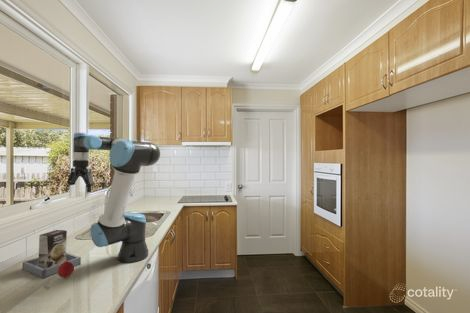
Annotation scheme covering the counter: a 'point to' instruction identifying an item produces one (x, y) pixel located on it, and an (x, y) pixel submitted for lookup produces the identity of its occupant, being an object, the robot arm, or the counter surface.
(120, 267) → the counter surface
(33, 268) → the tray
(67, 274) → the onion
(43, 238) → the coffee box
